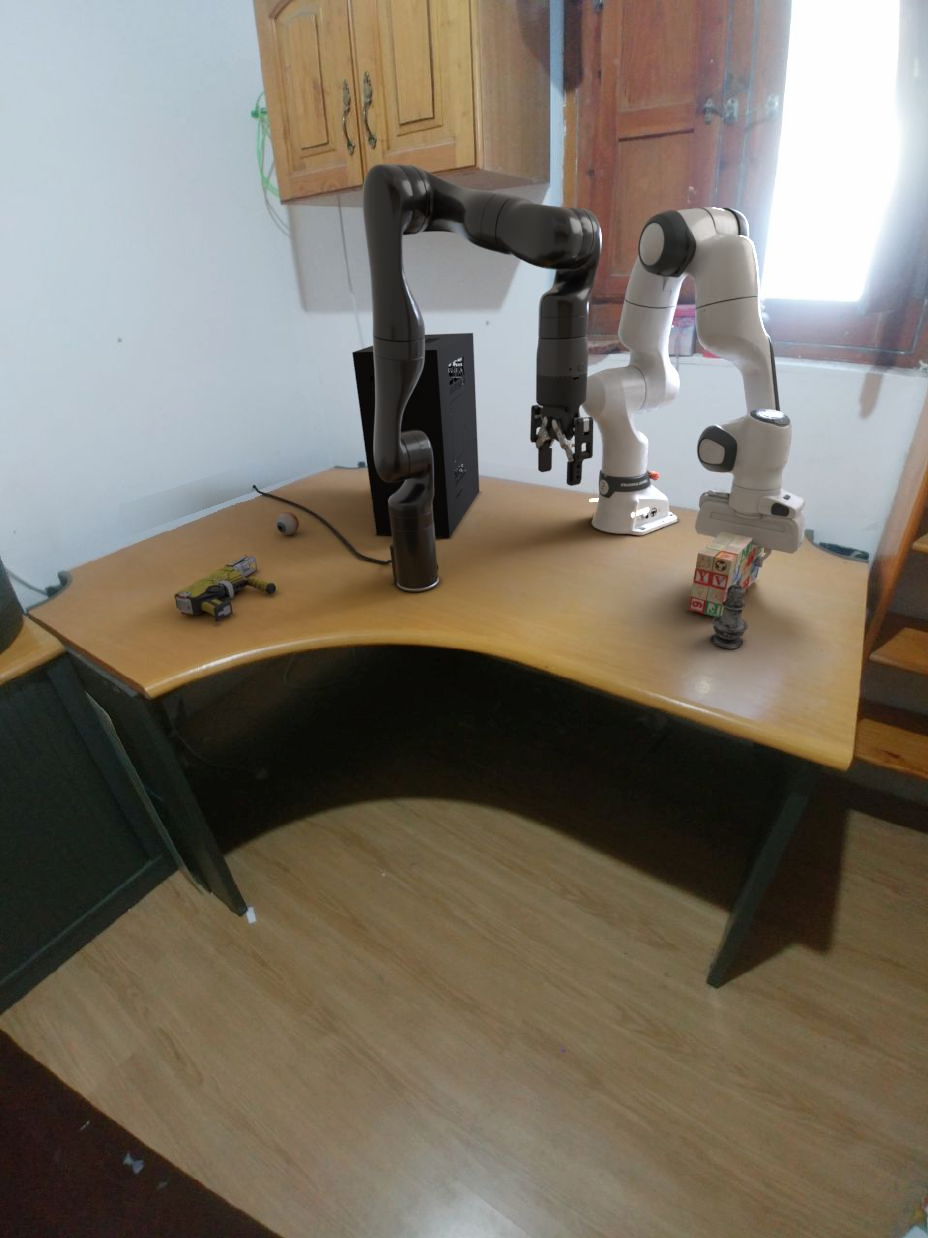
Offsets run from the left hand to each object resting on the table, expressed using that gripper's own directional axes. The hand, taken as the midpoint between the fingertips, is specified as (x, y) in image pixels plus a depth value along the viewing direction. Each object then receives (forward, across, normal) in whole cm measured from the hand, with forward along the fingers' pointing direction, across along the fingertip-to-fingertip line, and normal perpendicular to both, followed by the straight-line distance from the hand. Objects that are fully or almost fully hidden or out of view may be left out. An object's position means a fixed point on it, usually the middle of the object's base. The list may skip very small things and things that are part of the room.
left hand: (558, 477), depth 97 cm
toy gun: (+30, -49, -51) cm, 77 cm away
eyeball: (+30, -81, -34) cm, 93 cm away
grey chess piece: (+30, +16, +26) cm, 43 cm away
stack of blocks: (+30, +3, +38) cm, 49 cm away
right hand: (+26, 0, +45) cm, 52 cm away
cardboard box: (+30, -76, +6) cm, 82 cm away
